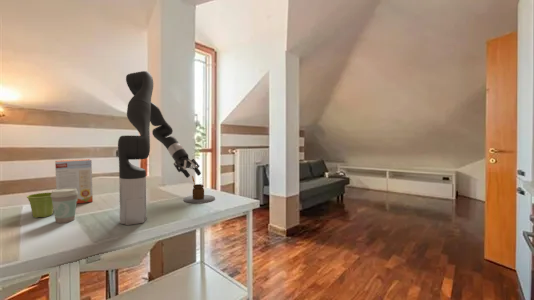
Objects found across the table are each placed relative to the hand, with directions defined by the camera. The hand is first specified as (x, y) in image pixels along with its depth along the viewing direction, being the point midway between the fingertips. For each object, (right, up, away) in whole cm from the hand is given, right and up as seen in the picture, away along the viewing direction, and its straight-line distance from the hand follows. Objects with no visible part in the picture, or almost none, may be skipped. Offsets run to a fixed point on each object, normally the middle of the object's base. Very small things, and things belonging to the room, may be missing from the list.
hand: (194, 175), depth 141 cm
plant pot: (-53, -14, -32) cm, 64 cm away
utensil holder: (+2, -12, -1) cm, 12 cm away
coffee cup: (-40, -14, -38) cm, 57 cm away
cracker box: (-55, -12, -12) cm, 57 cm away
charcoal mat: (+3, -12, -1) cm, 13 cm away
